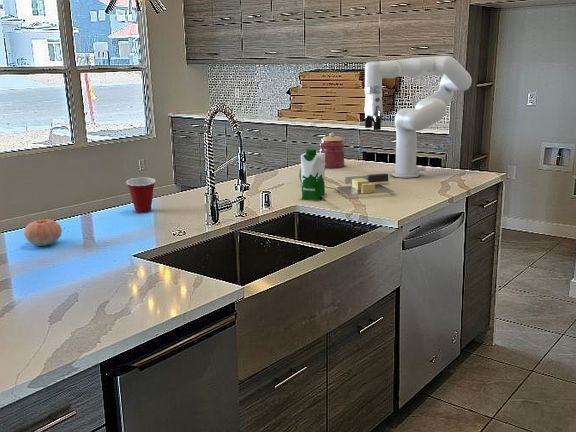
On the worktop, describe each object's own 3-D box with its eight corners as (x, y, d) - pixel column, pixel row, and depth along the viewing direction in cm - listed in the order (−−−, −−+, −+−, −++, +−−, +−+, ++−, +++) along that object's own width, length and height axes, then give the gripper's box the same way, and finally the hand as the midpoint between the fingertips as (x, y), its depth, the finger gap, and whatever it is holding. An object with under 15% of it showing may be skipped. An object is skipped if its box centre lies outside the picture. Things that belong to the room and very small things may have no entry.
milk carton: (299, 199, 236) (298, 150, 231) (307, 194, 244) (307, 146, 239) (319, 201, 232) (319, 150, 227) (327, 196, 240) (327, 147, 235)
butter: (362, 186, 251) (362, 178, 250) (369, 189, 245) (369, 181, 244) (351, 187, 250) (351, 179, 249) (357, 190, 243) (357, 182, 242)
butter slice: (372, 191, 241) (373, 183, 240) (374, 192, 239) (375, 184, 238) (361, 192, 239) (361, 184, 239) (363, 193, 238) (363, 184, 237)
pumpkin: (25, 251, 177) (22, 225, 175) (25, 241, 187) (22, 217, 185) (64, 246, 181) (61, 221, 179) (62, 237, 191) (59, 213, 189)
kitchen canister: (318, 168, 303) (318, 133, 299) (321, 164, 315) (320, 131, 311) (343, 168, 301) (343, 133, 296) (345, 164, 313) (345, 130, 309)
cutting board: (379, 187, 255) (379, 183, 255) (395, 195, 240) (395, 191, 240) (335, 190, 250) (335, 187, 250) (349, 198, 235) (349, 195, 235)
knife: (385, 183, 263) (386, 173, 262) (388, 184, 261) (388, 174, 260) (343, 186, 258) (343, 176, 257) (345, 187, 256) (345, 177, 255)
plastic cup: (132, 216, 215) (129, 184, 212) (125, 210, 225) (122, 179, 222) (161, 212, 220) (159, 180, 217) (153, 206, 230) (151, 176, 226)
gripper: (389, 90, 256) (388, 130, 260) (373, 89, 272) (372, 126, 276) (373, 91, 254) (372, 131, 258) (358, 89, 270) (357, 127, 274)
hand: (372, 128), depth 267 cm, fingers open, 9 cm apart
